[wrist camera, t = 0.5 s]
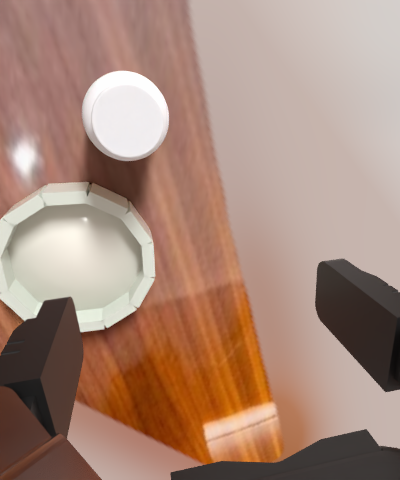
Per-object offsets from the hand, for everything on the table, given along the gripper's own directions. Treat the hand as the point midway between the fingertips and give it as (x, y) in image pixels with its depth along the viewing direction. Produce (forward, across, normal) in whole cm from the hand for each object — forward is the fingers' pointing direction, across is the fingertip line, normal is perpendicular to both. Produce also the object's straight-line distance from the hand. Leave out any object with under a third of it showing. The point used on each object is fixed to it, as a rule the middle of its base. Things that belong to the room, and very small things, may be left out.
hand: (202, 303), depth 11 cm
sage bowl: (+21, +8, +6) cm, 23 cm away
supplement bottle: (+21, +2, -6) cm, 22 cm away
